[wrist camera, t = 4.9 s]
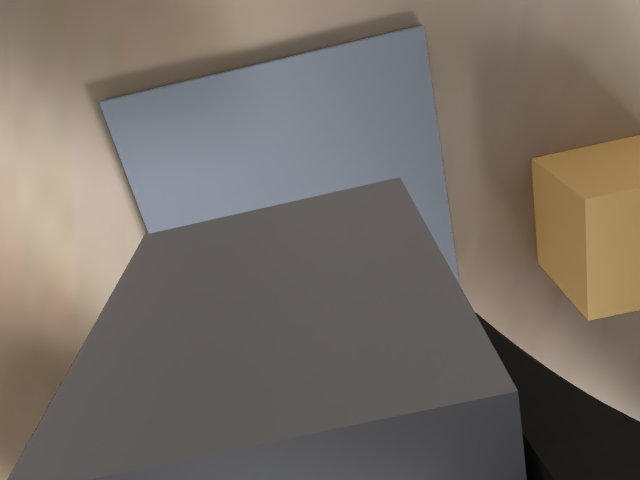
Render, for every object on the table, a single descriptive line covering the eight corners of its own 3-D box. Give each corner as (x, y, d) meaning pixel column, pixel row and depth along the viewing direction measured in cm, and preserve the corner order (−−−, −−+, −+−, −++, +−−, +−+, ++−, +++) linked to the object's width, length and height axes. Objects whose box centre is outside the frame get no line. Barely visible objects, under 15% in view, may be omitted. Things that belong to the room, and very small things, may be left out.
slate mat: (421, 24, 18) (424, 26, 17) (460, 304, 22) (463, 309, 21) (103, 100, 18) (99, 102, 18) (199, 360, 22) (198, 366, 22)
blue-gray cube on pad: (400, 176, 12) (518, 390, 6) (435, 385, 15) (548, 699, 8) (145, 234, 13) (-4, 499, 6) (219, 430, 15) (166, 769, 9)
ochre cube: (649, 131, 19) (732, 168, 16) (646, 238, 21) (721, 293, 17) (530, 157, 20) (585, 199, 16) (536, 261, 21) (588, 320, 18)
